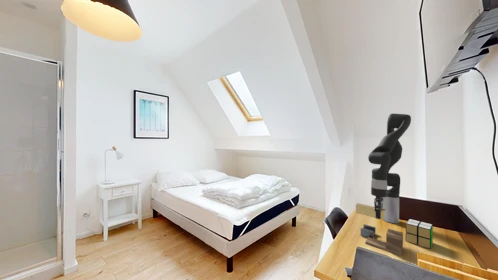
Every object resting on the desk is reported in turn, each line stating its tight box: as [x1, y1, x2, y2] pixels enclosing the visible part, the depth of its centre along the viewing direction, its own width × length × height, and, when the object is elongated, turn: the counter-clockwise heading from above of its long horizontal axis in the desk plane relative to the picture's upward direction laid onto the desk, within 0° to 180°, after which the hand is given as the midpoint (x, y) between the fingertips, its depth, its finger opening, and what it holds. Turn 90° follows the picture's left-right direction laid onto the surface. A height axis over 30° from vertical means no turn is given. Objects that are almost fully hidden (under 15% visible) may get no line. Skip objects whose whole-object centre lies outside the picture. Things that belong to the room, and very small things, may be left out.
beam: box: [365, 228, 404, 257], centre depth 98 cm, size 7×15×9 cm, turn 47°
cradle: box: [360, 224, 377, 239], centre depth 110 cm, size 8×6×4 cm
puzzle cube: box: [405, 218, 434, 250], centre depth 103 cm, size 10×10×10 cm
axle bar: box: [355, 202, 385, 221], centre depth 109 cm, size 4×14×5 cm, turn 48°
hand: (378, 217), depth 107 cm, fingers closed on axle bar, 4 cm apart
